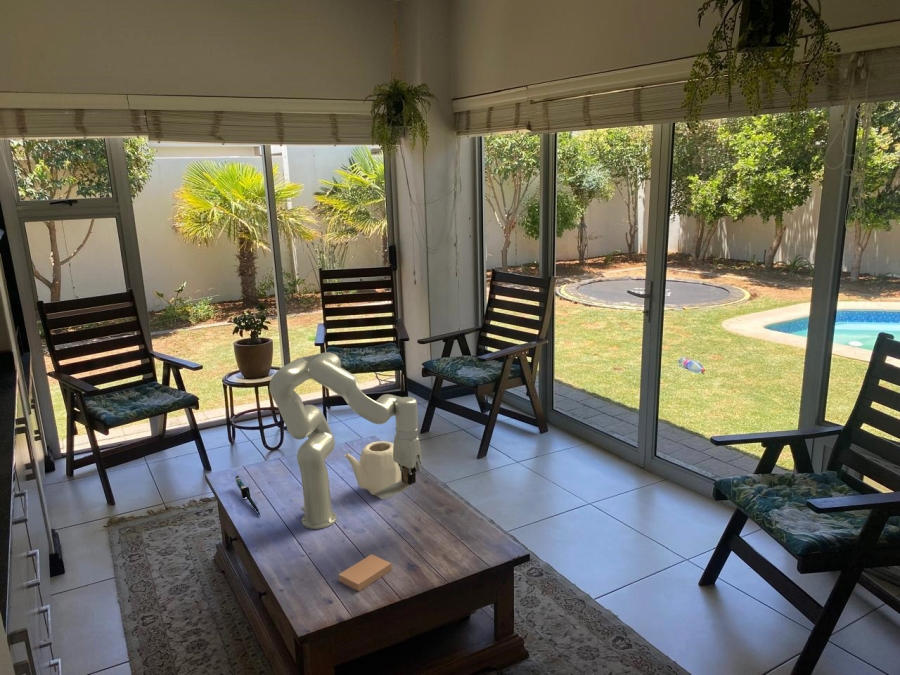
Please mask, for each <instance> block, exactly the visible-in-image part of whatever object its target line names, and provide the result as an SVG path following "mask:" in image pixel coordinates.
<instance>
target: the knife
mask: <svg viewBox="0 0 900 675" xmlns="http://www.w3.org/2000/svg"><path fill="white" fill-rule="evenodd" d="M235 482H236V485H237V486H238V487H237V488H239V490H240V493H241V499H242V498H245V497H247V499H246V500H249V501H248V502H249V504H250V503H251V504H250V505H251V507H252V506H253V507H254V508H255V509H256V511H257V512H258V513H257V512H256V511H255V512H256V513H257V515H258V514H259V515H260V516H259V515H258V516H259V517H261V513H260V510H259V508H258V506H257V505H256V503H255V501H254V500H253V498H252V497H251V492H250V487H249V486H245V485H244V482H243V481H242V479H241V478H240V476H239V475H236V476H235ZM253 507H252V508H253ZM254 508H253V509H254Z"/></svg>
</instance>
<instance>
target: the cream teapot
mask: <svg viewBox="0 0 900 675" xmlns="http://www.w3.org/2000/svg"><path fill="white" fill-rule="evenodd" d="M393 444H394V442H390V441H386V440H379V441H373V442H370V443H369V444H367V445H365V446H364V447H363V449H362V450H361V453H360V454H359V455H360V456H359V458H360V459H359V460H358V459H356V458H355V457H354V456H353V455H351V454H350V453H345V454H344V457H345V458H346V459H347V461H348V462H349V464H350V465H351V467H352V471H353V474H354V477H355V479H356V481H357V485H358V486H359V488H361V489H363V490H367V491H368V492H369V493H370V495H372V496H373V495H374V496H375V494H374V493H376V492H378V491H380V490H382V489H384V488H387V487H389V486H391V485H393V484H395V483H397V482H399V481H402V477H401V472H402V471H400V467H399V465H398V463H396V462H395V461H394V460H393Z"/></svg>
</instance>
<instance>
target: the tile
mask: <svg viewBox="0 0 900 675" xmlns="http://www.w3.org/2000/svg"><path fill="white" fill-rule="evenodd" d="M392 569H393V568H392V563H391V562H389V561H387V560H385V559H382V558H380V557H378V556H376V555H374V554H373V553H372V554H370V555H368V556H366V557H365V558H364V559H361V560H360V561H358V562H356V563H355V564H353V565H351V566H350V567H348V568H346V569H345V570H344V571H342V572H340V573H339V574H338V581H339V582H340V583H342V584H344V585H345V586H348V587H350V588H352V589H353V590H356V591H357V592H361V591H362V590H364V589H365V588H366V587H368V586H370V585H371V584H373V583H374V582H376V581H377V580H379V579H380V578H382V577H383V576H385V575H386V574H388V573H389V572H391V571H393V570H392Z"/></svg>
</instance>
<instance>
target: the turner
mask: <svg viewBox="0 0 900 675" xmlns="http://www.w3.org/2000/svg"><path fill="white" fill-rule="evenodd" d="M412 469H413V468H412ZM402 470H403V482H402V480H401V481H399V482H397V483H395V484H393V485H391V486H389V487H387V488H384V489H382V490H380V491H378V492H376V493H374V494H375V495H374V496H376V497H378V498H380V499H382V500H383V501H386V500H387V499H389V498H392V497H394V496H397V494H400V493H402V492H404V491H407V490H409V489H410V488H411V485H409V484H408V474H409V470H408V467H404V468H402ZM415 480H416V482H415V483H417V472H416V473H415ZM415 483H414V484H415Z"/></svg>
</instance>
